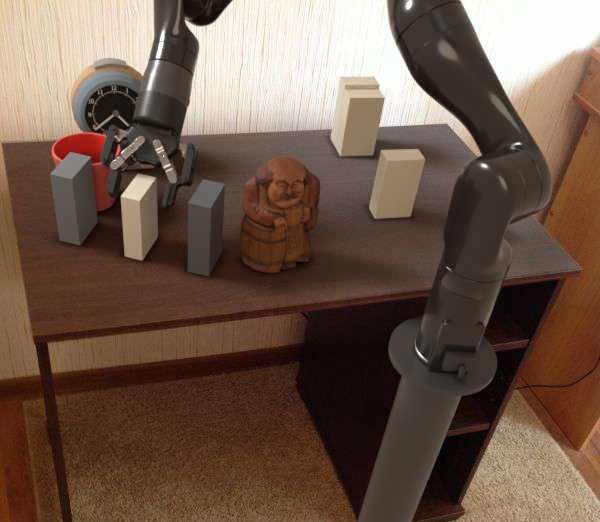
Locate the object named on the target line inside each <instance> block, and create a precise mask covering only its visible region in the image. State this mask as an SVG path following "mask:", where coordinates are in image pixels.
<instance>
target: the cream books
mask: <svg viewBox="0 0 600 522" xmlns="http://www.w3.org/2000/svg"><path fill="white" fill-rule="evenodd" d="M380 86H381V85H380V82H378V80H377V78H376V77H375V76H339V80H338V87H337V95H336V100H335V105H334V106H335V107H334V113H333V120H332V127H331V133H330V141H331V143H332V144H333V146H334V148H335V149H336V151H337V154H338V155H339V157H369V156H370V157H371V156H374V153H375V149H376V143H377V139H378V133H379V129H380V124H381V118H382V115H383V109H384V105H385V100H386V96H385V95H384V94H383V93H382V91H381V90H380ZM425 163H426V158H425V157H424V155H423V154H422V152H421V151H420V149H419V148H412V149H411V148H406V149H403V148H402V149H400V148H399V149H381V150H380V153H379V158H378V163H377V168H376V171H375V172H376V173H375V177H374V182H373V186H372V191H371V196H370V201H369V206H368V209H369V211H370V213H371V214H372V217H373V218H374V219H375V220H380V219H394V218H395V219H397V218H411V216H412V214H413V213H412V212H413V209H414V205H415V201H416V197H417V193H418V190H419V185H420V183H421V178H422V174H423V172H424V171H423V170H424V166H425Z"/></svg>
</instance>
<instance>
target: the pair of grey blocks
mask: <svg viewBox="0 0 600 522" xmlns="http://www.w3.org/2000/svg"><path fill="white" fill-rule="evenodd" d="M49 176H50V183H51V191H52V197H53V204H54V211H55V217H56V225H57V232H58V240H59V242H63V243H68V244H71V245H76V246H81V245H82V244H83V243H84V241H85V240H86V239H87V237H88V236H89V234H90V233H91V232H92V231H93V229H94V228H95V227H96V226H97V224H98V223H99V222H98V221H99V220H98V211H97V209H96V199H95V188H94V178H93V167H92V157H90V156H86V155H81V154H77V153H73V152H70V153H69V154H68V155H67V156H66V157H65V158H64V159H63V160H62V162H61V163H60V164H59V165H58V166H57V167H56V166H55V168H54V169H53V170H52V171H51V172H50V174H49ZM225 193H226V183H221V182H217V181H213V180H210V179H205V178H203V179H202V180H201V182H200V183H199V185H198V187H196V190H195V191H194V193H193V194H192V196H191V198H190V199H189V200H188V203H187V204H188V205H187V214H188V215H187V272H188V273H192V274H195V275H200V276H205V277H210V276H211V274H212V271H213V269H214V268H215V266H216V264H217V262H218V260H219V258H220V257H221V254H222V252H223V237H224V217H225V215H224V213H225V196H226V195H225Z"/></svg>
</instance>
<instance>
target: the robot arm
mask: <svg viewBox="0 0 600 522" xmlns="http://www.w3.org/2000/svg"><path fill="white" fill-rule="evenodd" d="M233 1H234V0H153V40H152V43H151V49H150V53H149V56H148V61H147V65H146V67H145V70H144V71H143V72H144V73H143V74H142V76H143V78H142V82H141V86H140V91H139V95H138V99H137V103H136V107H135V112H134V116H133V120H132V126H131V128H130V129H129V130H128V131H125V130H121V129H118V128H117V127H116V126H115V125H111V126H110V127H109V130H108V133H107V137H106V140H105V143H104V147H103V150H102V153H101V156H100V161H101V162H102V163H103V164H104V165H105V166H106V167H108V168H109V169H110V173H109V177H108V181H107V186H106V189H107V191H108V192H109V195H110V196H111V197H113V198H115V199H118V196H119V191H120V187H121V183H122V179H123V174H122V173H124V171H127V170H126V169H127V168H128V167H129V166H132V165H134V164H135V163H136V162H137V161H138V162H139V163H140V164H144V165H152V166H154V167H155V168H157V169H160V168H163V170H164V171H165V172H164V173H165V175H166V176H167V179H168V181H169V182H167V183H166V185H165V189H164V193H163V198H162V201H161V209H162V210H163V211H167V212H168V211H170V210H171V208H173V207H175V204H176V200H177V196H178V192H179V190H180V188H181V187H192V185H193V183H194V179H195V173H196V167H197V160H198V156H199V150H198V148H197V146H196V145H195V144H194V143H193V142H189V143H188V144H187V143H181V137H182V134H183V133H182V132H183V128H184V125H185V120H186V116H187V113H188V108H189V106H190V101H191V95H192V88H193V81H194V75H195V72H196V68H197V63H198V59H199V55H200V50H201V49H200V48H201V47H200V42H199V40H198V38H197V37H196V35H195V34H194V33H193V32H192V30H191V29H190V28H189V26H188V25H187V22H188V23H189V24H190V25H192V26H195V27H197V28H199V27H200V28H201V27H203V28H204V27H207V26H210V25H213V24H214V23H216V22H217V20H218V19H219V18H220V17H221V16H222V14H223V13H224V11H225V10H226V9H227V8H228V6H229V5H230V4H231V3H232V2H233ZM386 11H387V18H388V19H387V20H388V25H389V29H390V33H391V36H392V38H393V41H394V43H395V46H396V48H397V49H398V51H399V54H400V55H401V58H402V61H403V62H404V64H405V66H406V69H407V70H408V73H409V74H410V76H411V77H412V79H413V80H414V82H415V83H416V84H417V85H418V87H420V88H421V89H422V90H423V92H424V93H425V94H427V95H428V96H429V97H430V98H431V99H432V100H433V101H435V102H436V103H437V104H438V105H440V106H441V107H442V108H443V109H445V110H446V111H447V112H448V113H450V114H451V115H452V116H453V117H454V118H455V119H457V120H458V121H459V122H460V123H461V124H462V126H464V128H465V129H466V130H467V132H468V133H469V134H470V137H471V138H472V139H473V141H474V143H475V145H476V147H477V148H478V151H479V153H480V154H481V155H478V156H476V157H474V158H472V159H470V160H469V161H467V162H466V163H465V164H464V165H463V166H462V168H461V170H460V171H459V173H458V175H457V177H456V179H455V182H454V185H453V189H452V193H451V196H450V201H449V204H448V208H447V213H446V217H445V221H444V226H443V235H442V236H443V250H442V252H441V253H442V254H441V257H440V261H439V263H438V267H437V269H436V273H435V276H434V279H433V282H432V285H431V287H430V288H431V289H430V291H429V295H428V298H427V302H426V305H425V308H424V311H423V315H422V316H423V317H422V320H421V324H420V327H419V331H418V334H417V336H416V338H415V341H414V345H413V348H414V352H415V355H416V356H417V358H418V359H419V360H420V361H421V362H422V363H423V364H424V365H426V367H427V370H428V371H429V372H441V373H455V374H458V375H457V376H456V380H457V381H461V380H462V379H464V376H465V374H468V372H476V371H477V368H478V366H479V364H480V361H481V359H480V355H479V352H477V349H478V346H479V344H480V341H481V339H482V336H484V334H485V331H486V328H487V326H488V323H489V321H490V317H491V315H492V313H493V311H494V308H495V305H496V303H497V300H498V297H499V294H500V293H501V290H502V288H503V285H504V283H505V280H506V278H507V276H508V273H509V270H510V268H511V265H512V263H513V258H514V251H513V248H512V246H511V245H510V243H509V241H507V240H506V238H505V235H506V232H507V230H508V228H509V226H510V225H512V224H515V223H517V222H520V221H522V220H524V219H526V218H529V217H531V216H534V215H536V214H538V213H539V212H541V211H542V210H543V209H545V208H546V206H547V205H548V204H549V202H550V200H551V197H552V194H553V176H552V171H551V168H550V166H549V162H548V160H547V158H546V157H545V155H544V153H543V151H542V149H541V148H540V146H539V144H538V143H537V141H536V140H535V138H534V136H533V135H532V133H531V132H530V130H529V128H528V127H527V126H526V124H525V123H524V121H523V119H522V118H521V116H520V114H519V113H518V111H517V109H516V108H515V107H514V105H513V103H512V101H511V99H510V98H509V96H508V94H507V93H506V90H505V88H504V86H503V85H502V83H501V81H500V79H499V76H498V74H497V73H496V71H495V68H494V66H493V65H492V63H491V61H490V59H489V57H488V56H487V53H486V51H485V49H484V47H483V45H482V44H481V41H480V39H479V36H478V34H477V32H476V29H475V27H474V25H473V22H472V21H471V19H470V16H469V15H468V13H467V10H466V9H465V6H464V5H463V2H462V0H386ZM124 139H127V142H128V144H129V146H128V147H127V148H126V149H125V150H124V151H122V152H121V153H120V156H119V157H118V158H116V159H115V160H114V158H115V155H116V152H117V148H118V145H119V144H121V143H122V142H123V140H124ZM180 152H181V156H182V158H183V160H184V162H183V168H182V171H181V172H182V173H181V175H178V173H177V170H176V167H175V165H174V162H173V159H174V158H175V157H176V156H177V155H178V154H179V153H180Z"/></svg>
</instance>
